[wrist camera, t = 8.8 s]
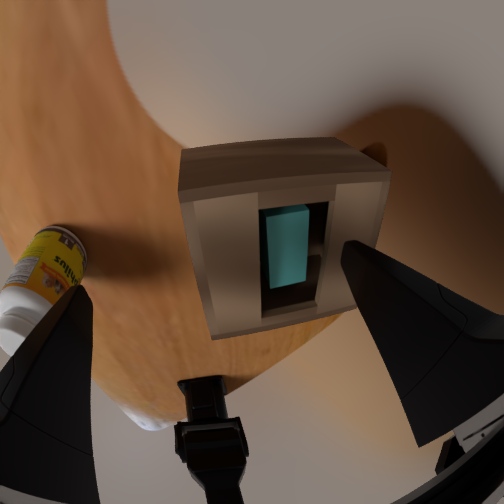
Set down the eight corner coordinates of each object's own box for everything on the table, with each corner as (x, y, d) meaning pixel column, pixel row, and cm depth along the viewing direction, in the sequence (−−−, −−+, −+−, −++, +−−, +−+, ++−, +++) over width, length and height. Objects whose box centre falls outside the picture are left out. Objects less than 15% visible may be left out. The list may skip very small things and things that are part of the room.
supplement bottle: (96, 273, 21) (72, 376, 13) (48, 277, 20) (15, 370, 12) (78, 217, 18) (27, 321, 10) (26, 227, 16) (-29, 318, 9)
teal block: (283, 239, 22) (305, 280, 18) (254, 245, 22) (270, 288, 18) (282, 177, 19) (309, 209, 15) (247, 182, 19) (266, 217, 15)
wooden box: (322, 254, 25) (356, 308, 20) (203, 274, 23) (212, 340, 18) (334, 137, 18) (392, 171, 13) (181, 149, 17) (177, 191, 11)
